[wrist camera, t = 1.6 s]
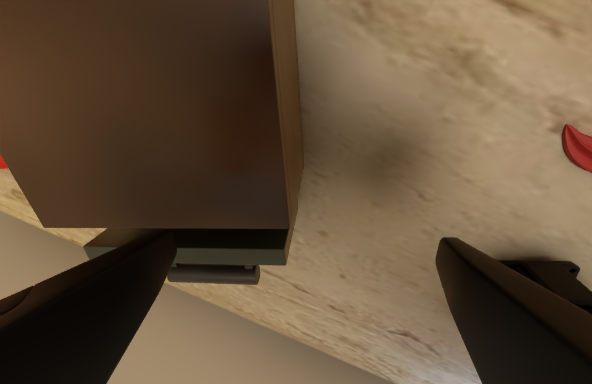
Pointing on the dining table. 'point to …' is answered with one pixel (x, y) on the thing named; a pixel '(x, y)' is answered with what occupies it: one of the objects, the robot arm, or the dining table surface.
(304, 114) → the dining table surface
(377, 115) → the dining table surface
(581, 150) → the cayenne pepper
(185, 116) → the cabinet
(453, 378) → the dining table surface
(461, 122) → the dining table surface
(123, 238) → the drawer
